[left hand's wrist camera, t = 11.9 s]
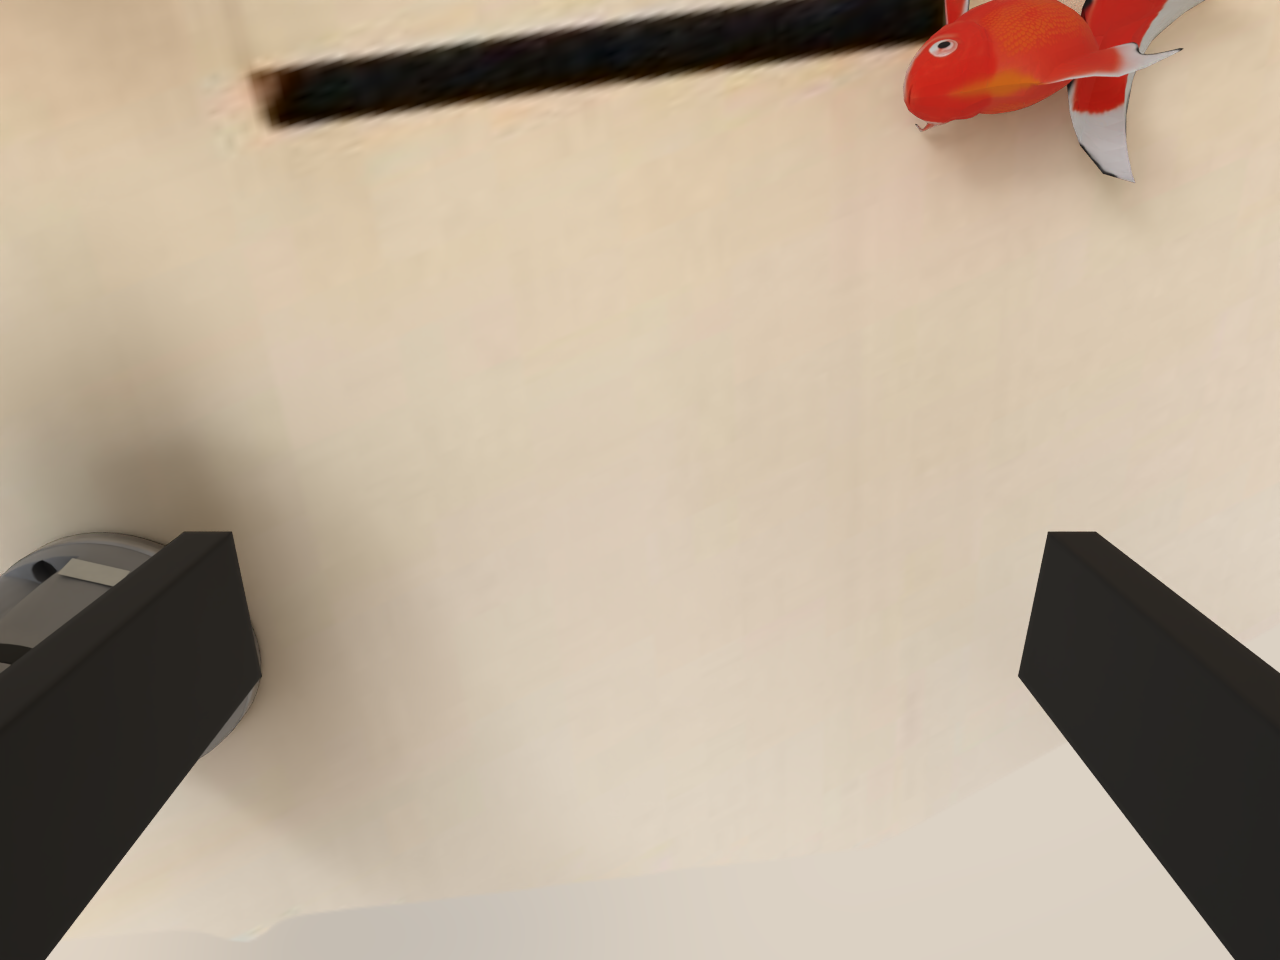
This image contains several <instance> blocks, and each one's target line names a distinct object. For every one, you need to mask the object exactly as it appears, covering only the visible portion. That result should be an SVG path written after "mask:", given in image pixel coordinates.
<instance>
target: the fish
mask: <svg viewBox="0 0 1280 960" xmlns="http://www.w3.org/2000/svg"><path fill="white" fill-rule="evenodd" d="M1203 1H1204V0H1086V1H1085V3H1084V5H1083V8H1082V13H1081V16H1080V15H1079V14H1078V13H1077V12H1075V11H1074V10H1073V9H1071V8H1069V7H1068V6H1066V5H1064V4H1062V3H1061V2H1059V1H1057V0H993V1H990V2H987V3H985V4H982V5H979V6H977V7H975V8H972V9H971V10H969V0H945V13H946V25H945V26H944V27H943V28H941V29H940V30H939V31H938V32H936V33H935V34H934V35H933V36H932V37H931V38H930V39H929V40H928V41H926V42H925V44H924V45H923V46H922V47H921V48H920V50H919V51H918V52H917V53H916V55H915V57H914V58H913V60H912V61H911V63H910V65H909V67H908V69H907V72H906V76H905V81H904V86H903V92H904V101H905V103H906V106H907V108H908V110H909V111H910V112H911V113H913V114H914V115H915V116H917V117H918V118H920V119H922V120H924V121H926V122H927V125H926V126H925V128H924V129H921V128H920V127H919V126H918V125H917V124H915V125H916V126H917V128H918V129H919V130H920V132H921V131H924V130H927V129H930V128H932V127H935V126H937V125H942V124H945V123H947V122H949V121H952V120H956V119H968V118H971V117H974V116H976V115H977V114H978V113H981V114H998V113H1004V112H1010V111H1015V110H1019V109H1022V108H1025V107H1028V106H1030V105H1033V104H1035V103H1037V102H1039V101H1041V100H1043V99H1045V98H1047V97H1048V96H1050V95H1052V94H1054V93H1055V92H1057V91H1058V90H1060V89H1061V88H1063V87H1064V86H1066V85H1067V88H1068V100H1069V110H1070V115H1071V119H1072V123H1073V127H1074V130H1075V133H1076V135H1077V138H1078V141H1079V143H1080V146H1081V147H1082V148H1083V149H1084V151H1085V152H1086V153H1087V154H1088V156H1089V157H1090V158H1091V159H1092V160H1093V162H1094V163H1095V164H1096V165H1097V167H1098V168H1099V169H1100V170H1101V172H1102V173H1103V174H1106V175H1110V176H1113V177H1117V178H1120V179H1123V180H1127V181H1130V182H1134V183H1135V180H1134V178H1133V175H1132V171H1131V166H1130V162H1129V156H1128V150H1127V142H1126V113H1127V108H1128V102H1129V97H1130V91H1131V85H1132V81H1133V78H1134V75H1135V72H1136V71H1137V70H1140V69H1143V68H1146V67H1148V66H1150V65H1152V64H1154V63H1156V62H1158V61H1160V60H1162V59H1164V58H1166V57H1169V56H1171V55H1173V54H1175V53H1177V52H1179V51H1181V50H1182V49H1184V48H1179V49H1175V50H1171V51H1166V52H1161V53H1157V54H1148V55H1147V54H1144V53H1145V51H1146V49H1147V47H1148V46H1149V44H1150V43H1151V41H1152V40H1153V39H1154V38H1155V37H1156V36H1157V35H1158V34H1160V33H1161V32H1162V31H1163V30H1164V29H1165V28H1166V27H1167V26H1169V25H1170V24H1171V23H1172V22H1173V21H1175V20H1176V19H1177V18H1178V17H1179V16H1181V15H1182V14H1183V13H1185V12H1186V11H1188V10H1189V9H1191V8H1193V7H1194V6H1196V5H1198V4H1199V3H1201V2H1203ZM968 10H969V11H968Z"/></svg>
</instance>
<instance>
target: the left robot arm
mask: <svg viewBox="0 0 1280 960" xmlns="http://www.w3.org/2000/svg"><path fill="white" fill-rule="evenodd" d="M261 677H262V674H261V660H260V651H259V647H258V642H257V639H256V636H255V633H254V630H253V628H252V626H251V621H250V616H249V612H248V607H247V602H246V597H245V592H244V588H243V583H242V578H241V573H240V568H239V563H238V559H237V554H236V549H235V544H234V539H233V535H232V532H183V533H182V534H181V535H179V536H178V537H177V538H175V539H174V540H173V541H171V542H170V543H169V544H168V545H166V546H164V545H161V544H159V543H156V542H153V541H150V540H147V539H143V538H139V537H135V536H130V535H124V534H116V533H86V534H78V535H73V536H68V537H65V538H61V539H58V540H55V541H53V542H51V543H48V544H46V545H44V546H42V547H41V548H39V549H37V550H36V551H34V552H32V553H31V554H29V555H27V556H26V557H24V558H23V559H21V560H19V561H18V562H17V563H15V564H14V565H13V566H11V567H10V568H9V569H8V570H7V571H6V572H5V573H4V574H2V575H1V576H0V960H45V959H46V958H47V957H48V955H49V954H50V953H51V951H52V950H53V949H54V948H55V946H56V945H57V944H58V942H59V941H60V940H61V938H62V937H63V936H64V934H65V933H66V932H67V931H68V929H69V928H70V927H71V925H72V924H73V923H74V921H75V920H76V919H77V917H78V916H79V915H80V914H81V912H82V911H83V910H84V908H85V907H86V906H87V904H88V903H89V902H90V900H91V899H92V898H93V897H94V895H95V894H96V893H97V891H98V890H99V889H100V887H101V886H102V885H103V883H104V882H105V881H106V880H107V878H108V877H109V876H110V874H111V873H112V872H113V870H114V869H115V868H116V866H117V865H118V864H119V862H120V861H121V860H122V859H123V857H124V856H125V855H126V853H127V852H128V851H129V849H130V848H131V847H132V845H133V844H134V843H135V842H136V840H137V839H138V838H139V836H140V835H141V834H142V832H143V831H144V830H145V828H146V827H147V826H148V825H149V823H150V822H151V821H152V819H153V818H154V817H155V815H156V814H157V813H158V811H159V810H160V809H161V808H162V806H163V805H164V804H165V802H166V801H167V800H168V798H169V797H170V796H171V794H172V793H173V792H174V791H175V789H176V788H177V787H178V785H179V784H180V783H181V781H182V780H183V779H184V777H185V776H186V775H187V773H188V772H189V771H190V770H191V768H192V767H193V766H194V764H195V763H196V762H197V760H198V759H199V758H201V757H203V756H204V755H206V754H207V753H208V752H210V751H211V750H212V749H214V748H215V747H216V746H217V745H218V744H219V743H220V742H221V741H222V740H223V739H224V738H226V737H227V736H228V735H229V734H230V733H231V731H232V730H233V729H234V728H235V727H236V725H237V724H238V723H239V721H240V720H241V718H242V717H243V716H244V714H245V713H246V712H247V710H248V709H249V707H250V706H251V704H252V702H253V700H254V698H255V695H256V693H257V689H258V685H259V681H260V678H261ZM1018 677H1019V678H1020V679H1021V681H1022V682H1023V683H1024V684H1025V686H1026V687H1027V688H1028V690H1029V691H1030V692H1031V694H1032V695H1033V696H1034V698H1035V699H1036V700H1037V702H1038V703H1039V704H1040V705H1041V707H1042V708H1043V709H1044V711H1045V712H1046V713H1047V715H1048V716H1049V717H1050V719H1051V720H1052V721H1053V722H1054V724H1055V725H1056V726H1057V728H1058V729H1059V730H1060V732H1061V733H1062V734H1063V736H1064V737H1065V738H1066V739H1067V741H1068V742H1069V743H1070V745H1071V746H1072V747H1073V749H1074V750H1075V751H1076V753H1077V754H1078V755H1079V756H1080V758H1081V759H1082V760H1083V762H1084V763H1085V764H1086V766H1087V767H1088V768H1089V770H1090V771H1091V772H1092V773H1093V775H1094V776H1095V777H1096V779H1097V780H1098V781H1099V783H1100V784H1101V785H1102V787H1103V788H1104V789H1105V791H1106V792H1107V793H1108V794H1109V796H1110V797H1111V798H1112V800H1113V801H1114V802H1115V804H1116V805H1117V806H1118V807H1119V809H1120V810H1121V811H1122V813H1123V814H1124V815H1125V817H1126V818H1127V819H1128V821H1129V822H1130V823H1131V825H1132V826H1133V827H1134V828H1135V830H1136V831H1137V832H1138V834H1139V835H1140V836H1141V838H1142V839H1143V840H1144V842H1145V843H1146V844H1147V845H1148V847H1149V848H1150V849H1151V851H1152V852H1153V853H1154V855H1155V856H1156V857H1157V859H1158V860H1159V861H1160V862H1161V864H1162V865H1163V866H1164V868H1165V869H1166V870H1167V872H1168V873H1169V874H1170V876H1171V877H1172V878H1173V880H1174V881H1175V882H1176V883H1177V885H1178V886H1179V887H1180V889H1181V890H1182V891H1183V892H1184V894H1185V895H1186V896H1187V898H1188V899H1189V900H1190V902H1191V903H1192V904H1193V906H1194V907H1195V908H1196V910H1197V911H1198V912H1199V914H1200V915H1201V916H1202V917H1203V919H1204V920H1205V921H1206V923H1207V924H1208V925H1209V927H1210V928H1211V929H1212V931H1213V932H1214V933H1215V934H1216V936H1217V937H1218V938H1219V940H1220V941H1221V942H1222V944H1223V945H1224V946H1225V948H1226V949H1227V950H1228V951H1229V953H1230V954H1231V955H1232V957H1233V958H1234V959H1235V960H1280V673H1279V672H1278V671H1276V670H1275V669H1274V668H1272V667H1271V666H1270V665H1268V664H1267V663H1266V662H1265V661H1263V660H1262V659H1261V658H1259V657H1258V656H1257V655H1255V654H1254V653H1253V652H1252V651H1250V650H1249V649H1248V648H1246V647H1245V646H1244V645H1242V644H1241V643H1240V642H1239V641H1237V640H1236V639H1235V638H1233V637H1232V636H1231V635H1229V634H1228V633H1227V632H1226V631H1224V630H1223V629H1222V628H1220V627H1219V626H1218V625H1216V624H1215V623H1214V622H1213V621H1211V620H1210V619H1209V618H1207V617H1206V616H1205V615H1203V614H1202V613H1201V612H1200V611H1198V610H1197V609H1196V608H1194V607H1193V606H1192V605H1190V604H1189V603H1188V602H1187V601H1185V600H1184V599H1183V598H1181V597H1180V596H1179V595H1177V594H1176V593H1175V592H1174V591H1172V590H1171V589H1170V588H1168V587H1167V586H1166V585H1164V584H1163V583H1162V582H1161V581H1159V580H1158V579H1157V578H1155V577H1154V576H1153V575H1151V574H1150V573H1149V572H1148V571H1146V570H1145V569H1144V568H1142V567H1141V566H1140V565H1138V564H1137V563H1136V562H1135V561H1133V560H1132V559H1131V558H1129V557H1128V556H1127V555H1125V554H1124V553H1123V552H1122V551H1120V550H1119V549H1118V548H1116V547H1115V546H1114V545H1112V544H1111V543H1110V542H1109V541H1107V540H1106V539H1105V538H1103V537H1102V536H1101V535H1099V534H1098V533H1097V532H1048V535H1047V539H1046V544H1045V549H1044V554H1043V559H1042V563H1041V568H1040V573H1039V578H1038V583H1037V588H1036V592H1035V597H1034V602H1033V607H1032V612H1031V616H1030V621H1029V626H1028V631H1027V636H1026V641H1025V645H1024V650H1023V655H1022V660H1021V665H1020V669H1019V674H1018Z"/></svg>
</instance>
